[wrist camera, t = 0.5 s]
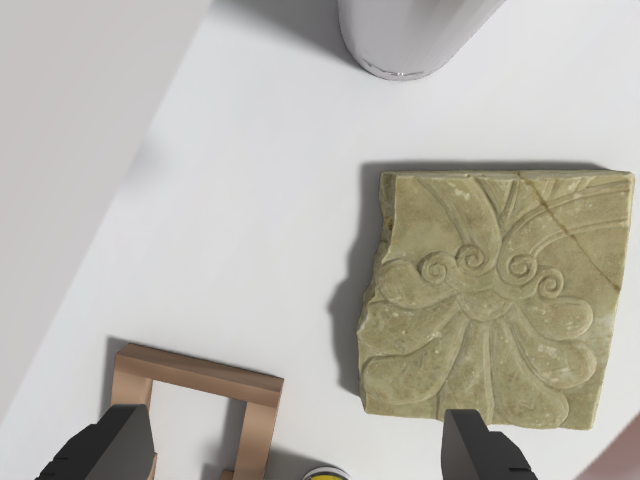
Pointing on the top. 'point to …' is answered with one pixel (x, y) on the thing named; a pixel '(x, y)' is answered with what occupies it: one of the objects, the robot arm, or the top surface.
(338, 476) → the supplement bottle
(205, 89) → the top surface
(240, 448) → the keyhole board
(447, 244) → the decorative tile
